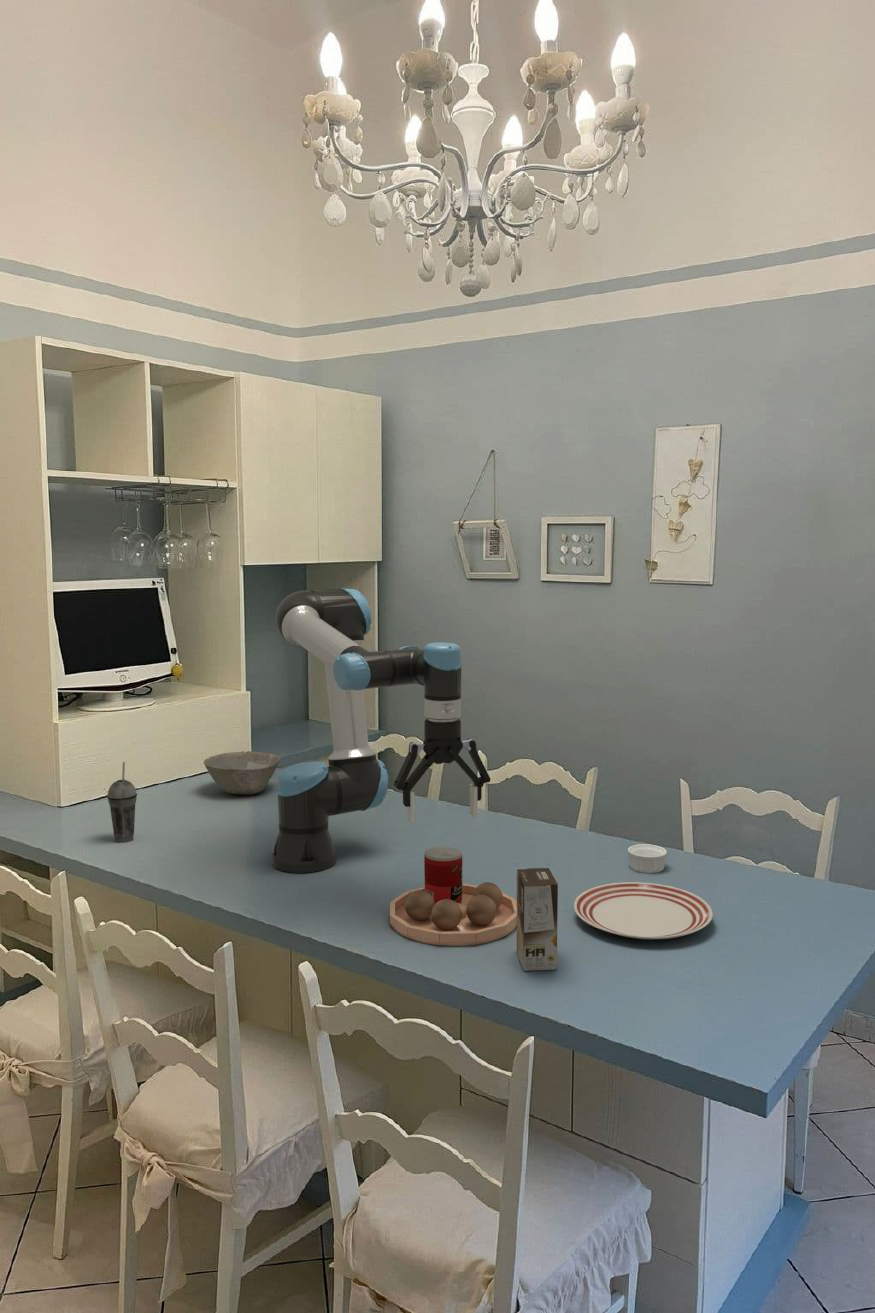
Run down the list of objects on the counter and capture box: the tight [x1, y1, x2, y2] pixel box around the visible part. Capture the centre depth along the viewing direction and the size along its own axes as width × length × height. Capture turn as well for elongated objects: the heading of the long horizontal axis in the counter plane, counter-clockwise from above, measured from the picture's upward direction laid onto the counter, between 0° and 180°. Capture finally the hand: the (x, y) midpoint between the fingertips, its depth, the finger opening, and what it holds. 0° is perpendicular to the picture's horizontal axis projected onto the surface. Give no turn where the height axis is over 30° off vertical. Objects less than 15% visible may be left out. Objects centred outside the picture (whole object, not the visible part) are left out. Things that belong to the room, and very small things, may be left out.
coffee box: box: [516, 867, 559, 972], centre depth 182 cm, size 9×6×16 cm
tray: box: [389, 883, 517, 947], centre depth 202 cm, size 26×26×2 cm
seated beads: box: [405, 881, 503, 931], centre depth 201 cm, size 18×18×6 cm
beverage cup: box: [106, 761, 138, 843], centre depth 253 cm, size 7×7×20 cm
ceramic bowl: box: [203, 750, 281, 796], centre depth 298 cm, size 22×23×10 cm
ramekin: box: [627, 843, 668, 874], centre depth 232 cm, size 9×9×4 cm
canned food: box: [423, 845, 463, 904], centre depth 208 cm, size 8×8×11 cm
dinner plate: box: [573, 881, 714, 940], centre depth 201 cm, size 28×27×3 cm
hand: (442, 818), depth 207 cm, fingers open, 13 cm apart
